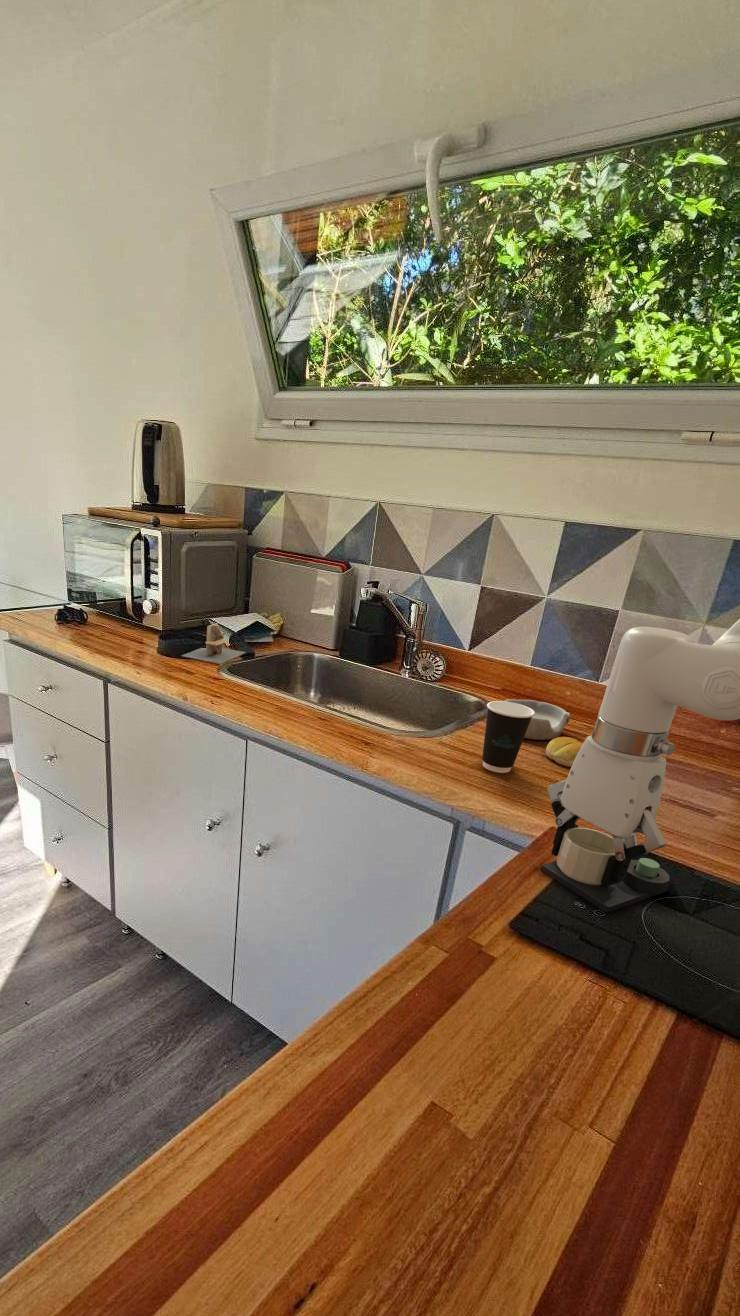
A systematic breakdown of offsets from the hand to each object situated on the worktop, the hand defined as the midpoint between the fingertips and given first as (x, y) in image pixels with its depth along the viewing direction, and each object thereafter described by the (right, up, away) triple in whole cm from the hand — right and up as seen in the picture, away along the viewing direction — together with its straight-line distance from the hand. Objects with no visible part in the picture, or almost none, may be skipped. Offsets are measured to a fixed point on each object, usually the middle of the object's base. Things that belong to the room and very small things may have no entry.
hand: (585, 866), depth 84 cm
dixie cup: (-1, +13, +33) cm, 36 cm away
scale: (+2, -2, 0) cm, 3 cm away
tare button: (+7, -1, -1) cm, 7 cm away
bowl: (0, -1, 0) cm, 1 cm away
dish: (+12, +21, +54) cm, 59 cm away
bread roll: (+15, +15, +40) cm, 45 cm away
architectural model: (-57, +44, +87) cm, 113 cm away
